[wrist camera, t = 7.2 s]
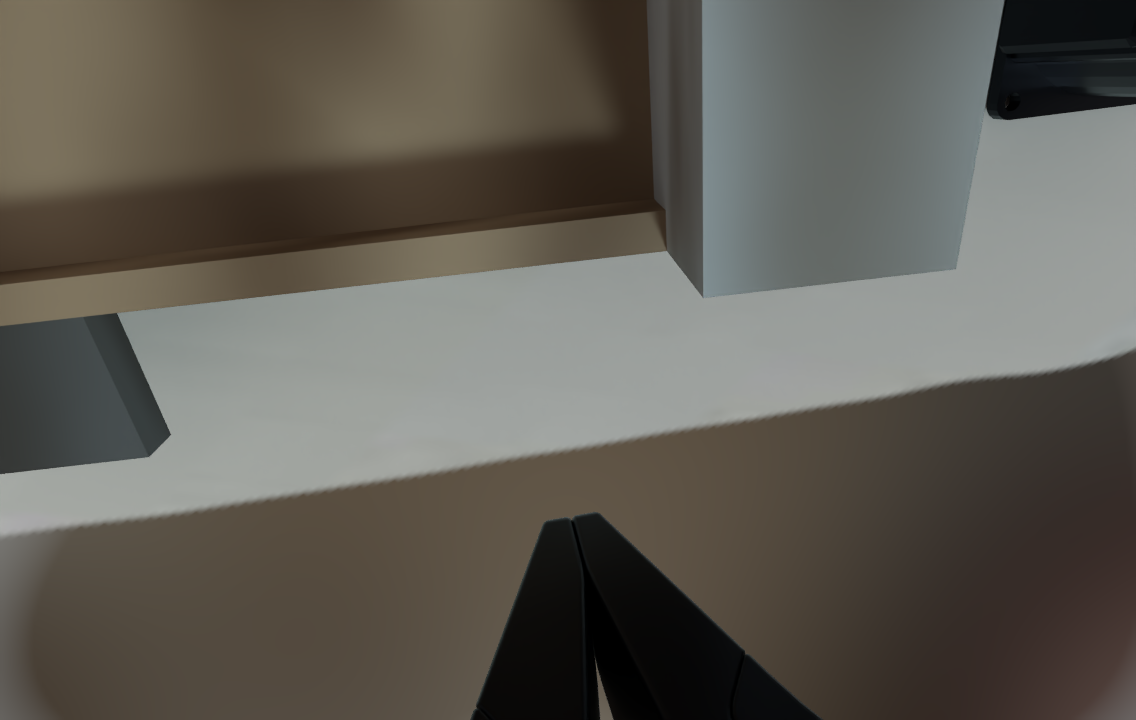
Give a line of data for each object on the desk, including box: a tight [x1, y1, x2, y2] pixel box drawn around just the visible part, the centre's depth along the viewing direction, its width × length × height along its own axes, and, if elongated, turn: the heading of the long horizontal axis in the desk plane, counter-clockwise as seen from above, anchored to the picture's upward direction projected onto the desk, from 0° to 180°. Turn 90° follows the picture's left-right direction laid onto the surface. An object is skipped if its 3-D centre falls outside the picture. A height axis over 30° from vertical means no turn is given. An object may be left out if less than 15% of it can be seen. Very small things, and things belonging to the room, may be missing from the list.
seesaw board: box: [0, 0, 1004, 474], centre depth 11 cm, size 22×12×5 cm, turn 96°
